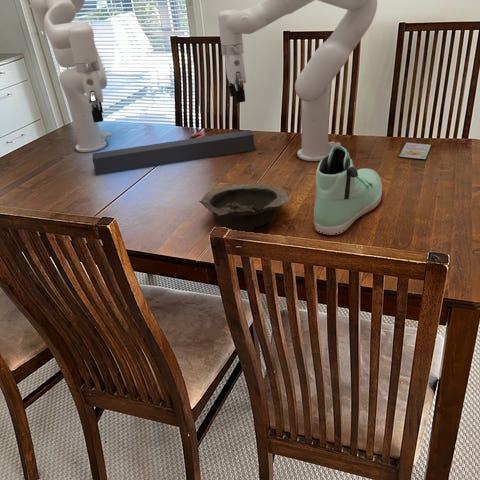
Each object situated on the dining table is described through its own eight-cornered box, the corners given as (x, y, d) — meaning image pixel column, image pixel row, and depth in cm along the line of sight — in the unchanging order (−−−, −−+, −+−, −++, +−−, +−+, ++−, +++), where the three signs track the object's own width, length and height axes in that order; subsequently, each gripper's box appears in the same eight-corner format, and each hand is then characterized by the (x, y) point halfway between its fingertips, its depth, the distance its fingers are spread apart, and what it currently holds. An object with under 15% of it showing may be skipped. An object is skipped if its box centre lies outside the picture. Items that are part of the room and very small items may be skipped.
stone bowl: (227, 251, 123) (222, 218, 119) (191, 218, 143) (186, 190, 139) (307, 222, 132) (305, 191, 128) (262, 196, 152) (259, 168, 148)
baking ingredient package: (399, 155, 168) (406, 141, 179) (398, 156, 168) (406, 143, 179) (425, 158, 164) (431, 144, 176) (425, 159, 164) (431, 145, 176)
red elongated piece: (173, 146, 194) (173, 142, 193) (197, 134, 204) (196, 131, 203) (185, 148, 191) (184, 144, 190) (208, 136, 201) (207, 132, 200)
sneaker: (389, 187, 148) (396, 123, 138) (356, 242, 123) (361, 168, 112) (346, 181, 154) (350, 119, 144) (306, 232, 129) (307, 161, 118)
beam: (96, 175, 174) (92, 158, 171) (96, 169, 179) (92, 153, 175) (254, 150, 184) (253, 134, 181) (250, 145, 189) (249, 129, 185)
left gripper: (99, 71, 151) (110, 123, 161) (99, 59, 166) (109, 108, 175) (75, 74, 150) (87, 126, 160) (76, 62, 164) (88, 111, 174)
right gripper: (249, 51, 160) (253, 102, 168) (237, 44, 174) (241, 92, 183) (227, 54, 158) (233, 106, 167) (216, 47, 173) (222, 95, 182)
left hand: (98, 117), depth 167 cm, fingers open, 9 cm apart
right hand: (237, 98), depth 175 cm, fingers open, 9 cm apart
